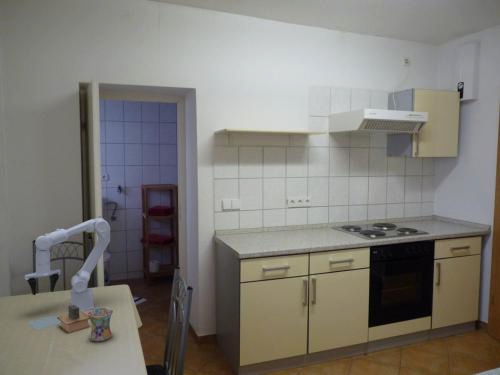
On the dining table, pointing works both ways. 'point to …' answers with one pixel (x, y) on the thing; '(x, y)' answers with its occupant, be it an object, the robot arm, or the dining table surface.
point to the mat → (44, 322)
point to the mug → (100, 324)
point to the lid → (73, 316)
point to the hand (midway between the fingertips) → (43, 292)
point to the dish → (75, 326)
